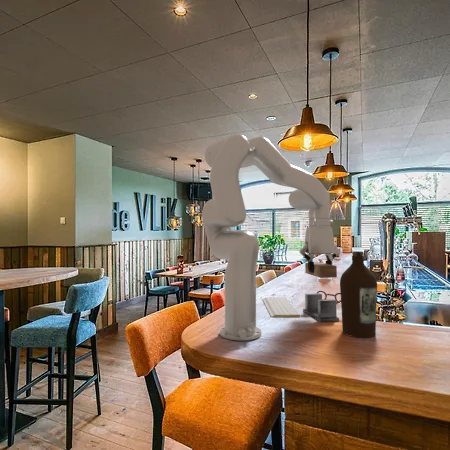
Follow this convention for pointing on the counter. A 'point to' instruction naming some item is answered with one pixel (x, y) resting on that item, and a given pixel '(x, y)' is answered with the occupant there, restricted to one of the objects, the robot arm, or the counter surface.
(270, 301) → the baseboard molding
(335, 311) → the grey flat-based fixture
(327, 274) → the shelf board
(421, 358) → the counter surface
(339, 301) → the glasses
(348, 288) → the olive oil
